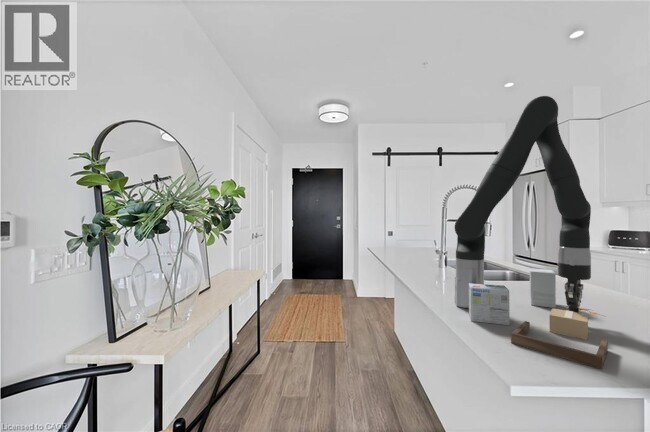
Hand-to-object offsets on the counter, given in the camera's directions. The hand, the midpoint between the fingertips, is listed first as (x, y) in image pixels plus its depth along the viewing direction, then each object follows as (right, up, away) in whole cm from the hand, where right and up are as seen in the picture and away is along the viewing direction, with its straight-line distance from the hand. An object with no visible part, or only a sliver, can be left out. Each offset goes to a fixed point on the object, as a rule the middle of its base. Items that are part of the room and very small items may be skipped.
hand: (573, 318), depth 88 cm
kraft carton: (-6, -2, -6) cm, 9 cm away
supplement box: (+5, -2, +19) cm, 20 cm away
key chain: (+13, -2, +13) cm, 18 cm away
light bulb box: (-24, -2, +3) cm, 25 cm away
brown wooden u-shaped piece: (-17, -2, -15) cm, 23 cm away
